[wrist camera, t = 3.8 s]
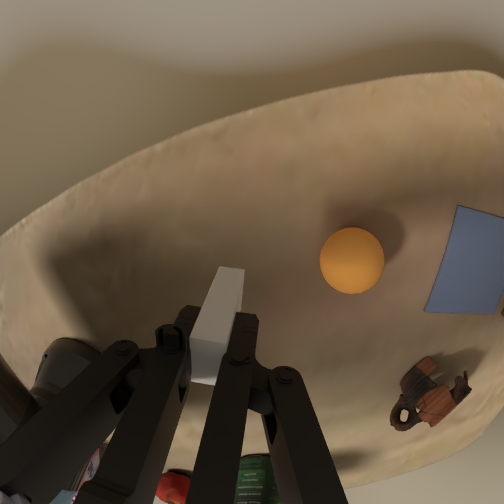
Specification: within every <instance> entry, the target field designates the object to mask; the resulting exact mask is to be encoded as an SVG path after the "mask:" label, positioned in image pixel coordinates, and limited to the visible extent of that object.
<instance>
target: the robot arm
mask: <svg viewBox="0 0 504 504" xmlns="http://www.w3.org/2000/svg"><path fill="white" fill-rule="evenodd" d="M244 273H245V269H237V268H230V267H222V266H219V268H218V271H217V273H216V275H215V278H214V280H213V282H212V285H211V287H210V289H209V292H208V294H207V296H206V299H205V301H204V304H203V306H202V307H196V306H190V305H187V306H186V307H184V308H183V309H181V311H180V312H179V314H178V317H177V318H176V320H175V322H174V324H166V325H162V326H160V327H158V328H157V329H156V330H155V334H156V342H157V346H156V347H155V348H148V349H138V346H137V344H136V343H134V342H133V341H130V340H120V341H116V342H115V343H113V344H112V345H111V346H109V347H108V348H107V349H106V350H105V351H104V352H103V353H102V354H100V353H98V352H97V351H96V350H94V349H92V348H91V347H89V346H87V345H85V344H83V343H80V342H78V341H75V340H71V339H57V340H55V341H53V342H52V343H51V345H50V346H49V347H48V348H47V349H46V351H45V352H44V354H43V357H42V361H41V364H40V366H39V369H38V373H37V376H36V379H35V383H34V385H33V387H32V389H31V390H30V391H28V390H27V388H26V387H25V386H24V385H23V383H22V382H21V381H20V380H19V378H18V377H17V376H16V374H15V373H14V372H13V370H12V369H11V368H10V366H9V365H8V364H7V362H6V361H5V359H4V358H3V357H2V355H1V354H0V504H70V503H71V501H72V499H73V497H74V495H76V494H77V495H76V498H75V500H74V502H73V504H153V501H154V498H155V494H156V491H157V488H158V485H159V482H160V478H161V475H162V472H163V469H164V466H165V462H166V459H167V456H168V453H169V450H170V447H171V443H172V440H173V437H174V434H175V431H176V428H177V425H178V422H179V418H180V415H181V412H182V409H183V406H184V403H185V400H186V397H187V394H188V391H189V379H190V377H191V381H192V382H197V383H203V384H208V385H214V386H215V387H214V391H213V395H212V399H211V403H210V407H209V411H208V415H207V419H206V422H205V426H204V430H203V434H202V438H201V442H200V446H199V450H198V454H197V458H196V462H195V466H194V470H193V474H192V478H191V481H190V485H189V489H188V493H187V497H186V501H185V504H234V498H235V492H236V485H237V479H238V472H239V466H240V459H241V452H242V445H243V438H244V431H245V424H246V417H247V410H248V409H250V410H253V411H255V412H258V413H260V414H261V417H262V421H263V426H264V430H265V435H266V439H267V444H268V448H269V453H270V457H271V462H272V466H273V470H274V475H275V479H276V483H277V487H278V492H279V496H280V500H281V504H348V501H347V498H346V496H345V493H344V490H343V487H342V485H341V482H340V479H339V476H338V474H337V471H336V468H335V466H334V463H333V460H332V457H331V455H330V452H329V449H328V447H327V444H326V441H325V438H324V436H323V433H322V430H321V428H320V425H319V422H318V420H317V417H316V414H315V411H314V409H313V406H312V403H311V401H310V398H309V395H308V393H307V390H306V387H305V384H304V382H303V379H302V376H301V375H300V373H299V372H298V371H297V370H295V369H294V368H291V367H288V366H280V367H276V368H274V369H272V370H271V369H268V368H266V367H263V366H262V365H260V364H259V363H258V362H257V360H256V358H255V349H256V341H257V333H258V325H259V320H258V318H257V316H256V314H249V313H241V312H240V311H241V305H242V294H243V284H244ZM115 428H116V429H115ZM114 429H115V431H114V433H113V436H112V438H111V440H110V442H109V444H108V446H107V448H106V451H105V453H104V455H103V457H102V459H101V462H100V464H99V466H98V468H97V471H96V473H95V475H94V477H93V478H92V479H91V480H88V481H85V482H84V483H83V484H82V485H81V487H80V489H79V491H77V490H78V488H79V485H80V483H81V481H82V478H83V476H84V474H85V471H86V469H87V467H88V464H89V462H90V460H91V457H92V455H93V454H94V453H95V451H96V450H97V449H98V448H99V447H100V446H101V444H102V443H103V442H104V441H105V440H106V439H107V437H108V436H109V435H110V434H111V433H112V432H113V430H114ZM77 492H78V493H77Z"/></svg>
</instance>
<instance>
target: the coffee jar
mask: <svg viewBox="0 0 504 504" xmlns="http://www.w3.org/2000/svg"><path fill="white" fill-rule="evenodd" d="M234 504H281V500H280V496H279V492H278V487H277V483H276V479H275V475H274V470H273V466H272V462H271V457H268V456H261V455H251V456H247V457H243V458H241V459H240V466H239V472H238V479H237V485H236V492H235V498H234Z"/></svg>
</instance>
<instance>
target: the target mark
mask: <svg viewBox="0 0 504 504" xmlns="http://www.w3.org/2000/svg"><path fill="white" fill-rule="evenodd" d="M503 291H504V219H503V218H500V217H497V216H494V215H490V214H487V213H483V212H480V211H476V210H473V209H469V208H465V207H462V206H457V210H456V214H455V218H454V222H453V226H452V229H451V233H450V236H449V240H448V243H447V247H446V250H445V253H444V256H443V260H442V263H441V266H440V269H439V272H438V275H437V277H436V280H435V283H434V286H433V289H432V291H431V294H430V296H429V299H428V302H427V304H426V307H425V309H424V312H438V313H462V314H494V312H495V309H496V307H497V305H498V303H499V301H500V298H501V296H502V294H503Z"/></svg>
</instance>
